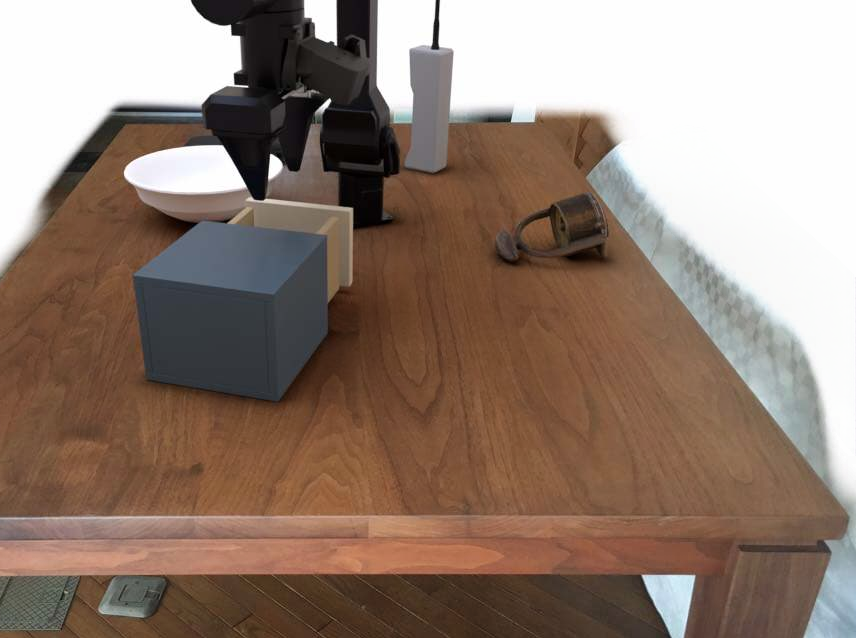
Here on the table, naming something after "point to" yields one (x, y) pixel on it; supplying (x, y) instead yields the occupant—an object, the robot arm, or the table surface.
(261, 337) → the cabinet
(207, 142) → the carrying case
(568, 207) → the brass cylinder with loop
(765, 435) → the table surface
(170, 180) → the bowl
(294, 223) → the drawer
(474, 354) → the table surface
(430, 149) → the vintage mobile phone
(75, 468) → the table surface
